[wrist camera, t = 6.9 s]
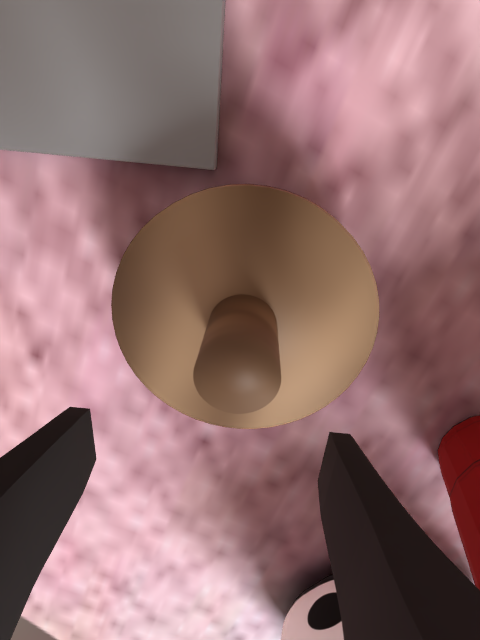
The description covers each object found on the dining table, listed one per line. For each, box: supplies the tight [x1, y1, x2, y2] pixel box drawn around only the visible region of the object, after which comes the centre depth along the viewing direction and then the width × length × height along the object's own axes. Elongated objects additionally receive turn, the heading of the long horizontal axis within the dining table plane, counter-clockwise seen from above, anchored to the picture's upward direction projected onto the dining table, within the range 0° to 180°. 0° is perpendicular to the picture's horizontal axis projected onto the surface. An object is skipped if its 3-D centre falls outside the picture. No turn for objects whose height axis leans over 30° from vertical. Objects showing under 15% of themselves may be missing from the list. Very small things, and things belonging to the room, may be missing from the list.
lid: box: [111, 184, 379, 429], centre depth 15 cm, size 12×12×5 cm
